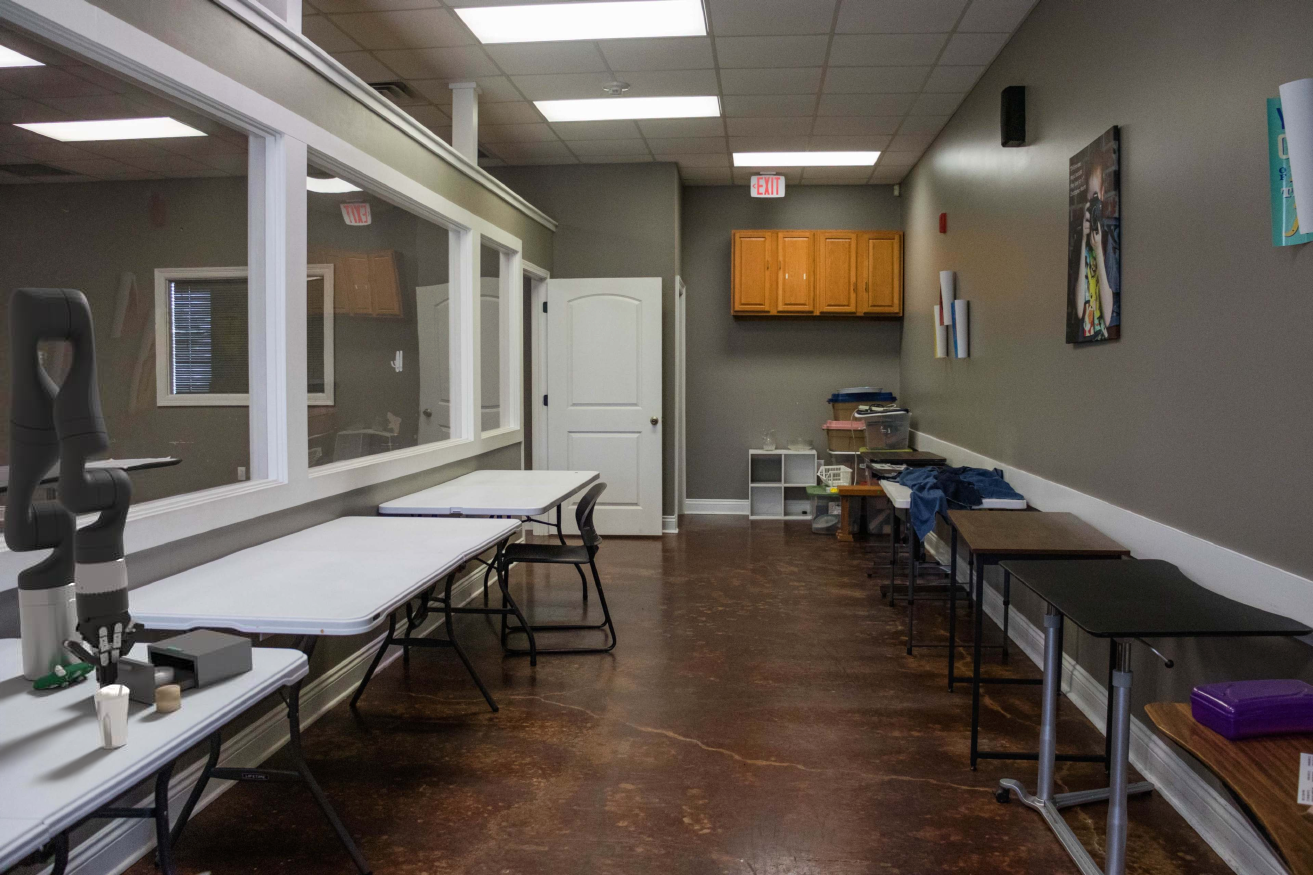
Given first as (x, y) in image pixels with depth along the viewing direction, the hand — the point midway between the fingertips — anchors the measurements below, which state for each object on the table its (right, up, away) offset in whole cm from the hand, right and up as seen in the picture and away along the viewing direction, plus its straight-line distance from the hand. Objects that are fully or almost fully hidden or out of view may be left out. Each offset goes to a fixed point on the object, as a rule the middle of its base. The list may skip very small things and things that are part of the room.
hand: (107, 684), depth 145 cm
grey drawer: (+4, -3, +7) cm, 9 cm away
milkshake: (+12, -5, -16) cm, 21 cm away
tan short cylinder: (+12, -4, -2) cm, 13 cm away
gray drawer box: (+8, -2, +15) cm, 17 cm away
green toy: (-15, -3, +11) cm, 19 cm away
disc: (+4, -2, +7) cm, 9 cm away
